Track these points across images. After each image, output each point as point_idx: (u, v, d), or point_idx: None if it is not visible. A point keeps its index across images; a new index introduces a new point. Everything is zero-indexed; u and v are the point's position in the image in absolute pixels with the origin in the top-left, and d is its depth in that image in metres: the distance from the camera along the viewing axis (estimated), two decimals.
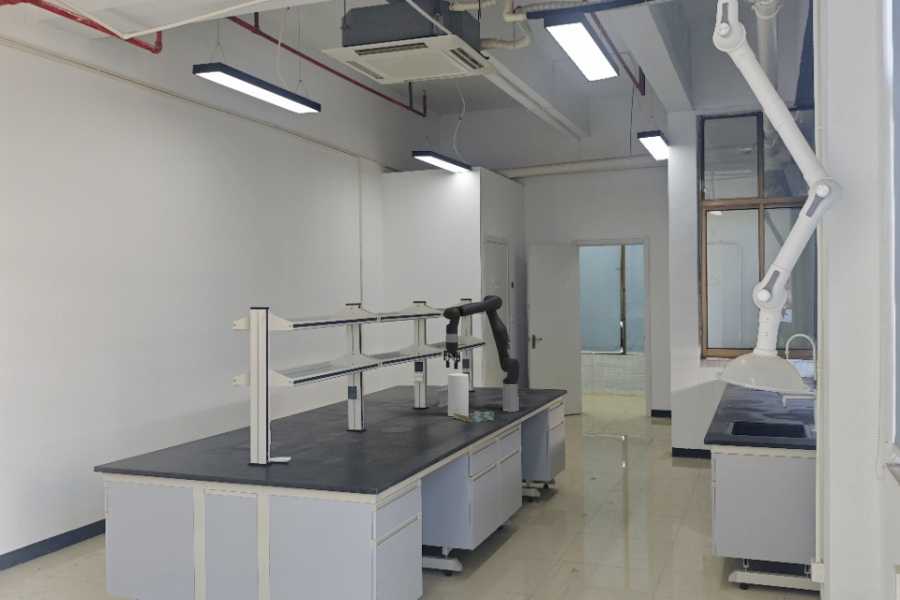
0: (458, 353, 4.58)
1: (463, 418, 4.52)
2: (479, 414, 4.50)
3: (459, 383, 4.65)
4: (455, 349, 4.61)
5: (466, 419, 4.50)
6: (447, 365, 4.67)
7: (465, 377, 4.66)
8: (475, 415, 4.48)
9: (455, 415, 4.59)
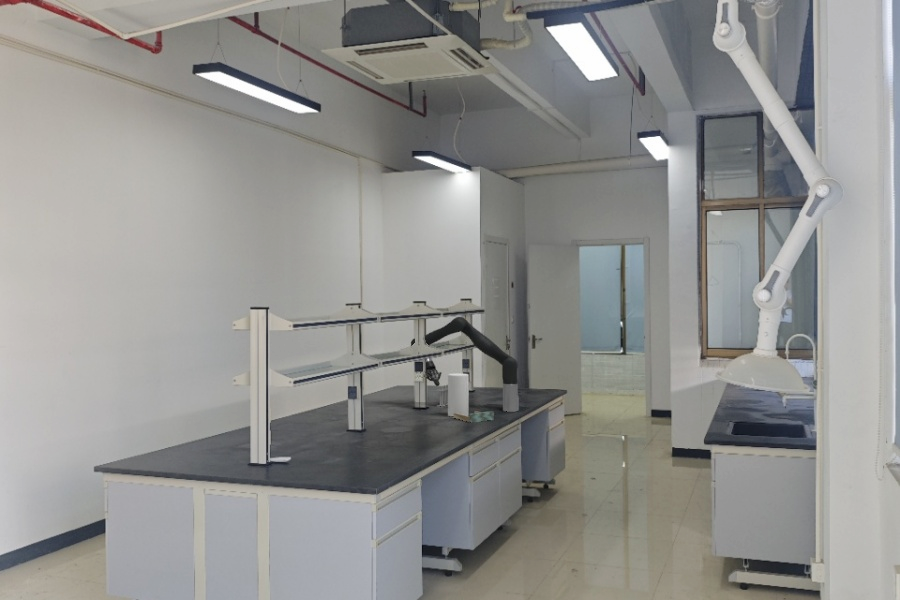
0: None
1: (463, 418, 4.52)
2: (479, 414, 4.50)
3: (459, 383, 4.65)
4: None
5: (466, 419, 4.50)
6: None
7: (465, 377, 4.66)
8: (475, 415, 4.48)
9: (455, 415, 4.59)
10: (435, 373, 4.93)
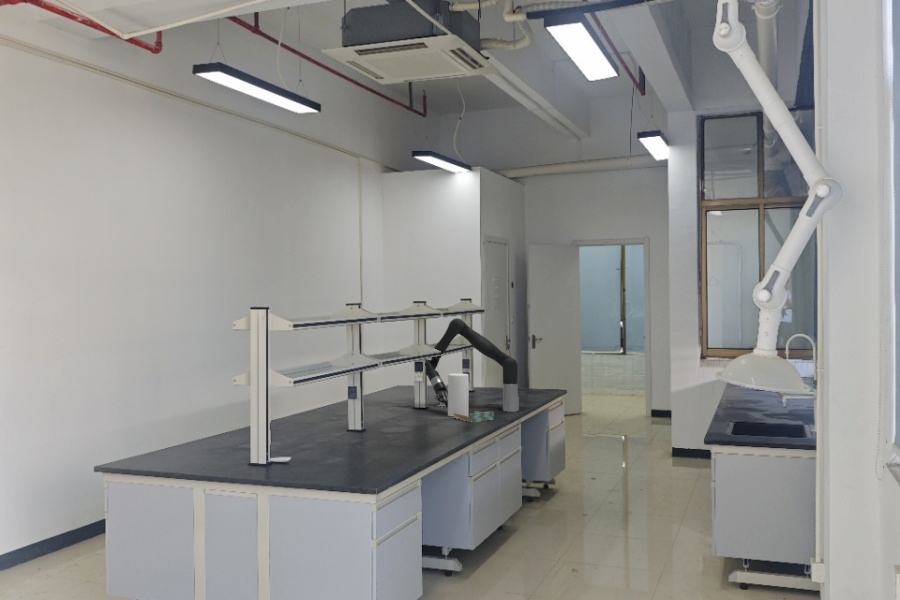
0: (436, 397, 4.80)
1: (463, 418, 4.52)
2: (479, 414, 4.50)
3: (459, 383, 4.65)
4: (436, 391, 4.84)
5: (466, 419, 4.50)
6: None
7: (465, 377, 4.66)
8: (475, 415, 4.48)
9: (455, 415, 4.59)
10: (446, 395, 4.83)
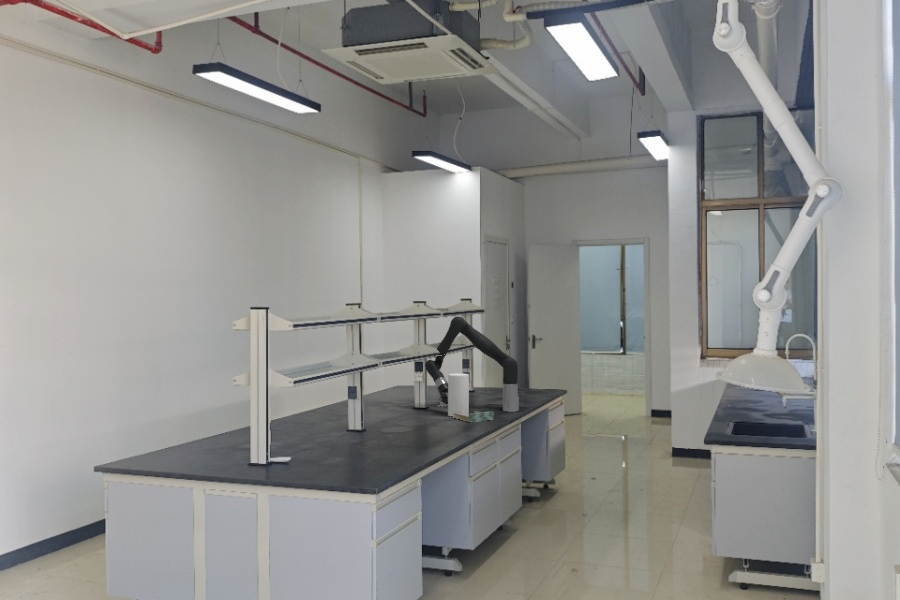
0: (440, 398, 4.76)
1: (463, 418, 4.52)
2: (479, 414, 4.50)
3: (459, 383, 4.64)
4: (440, 392, 4.80)
5: (466, 419, 4.50)
6: None
7: (465, 377, 4.66)
8: (475, 415, 4.48)
9: (455, 415, 4.59)
10: None
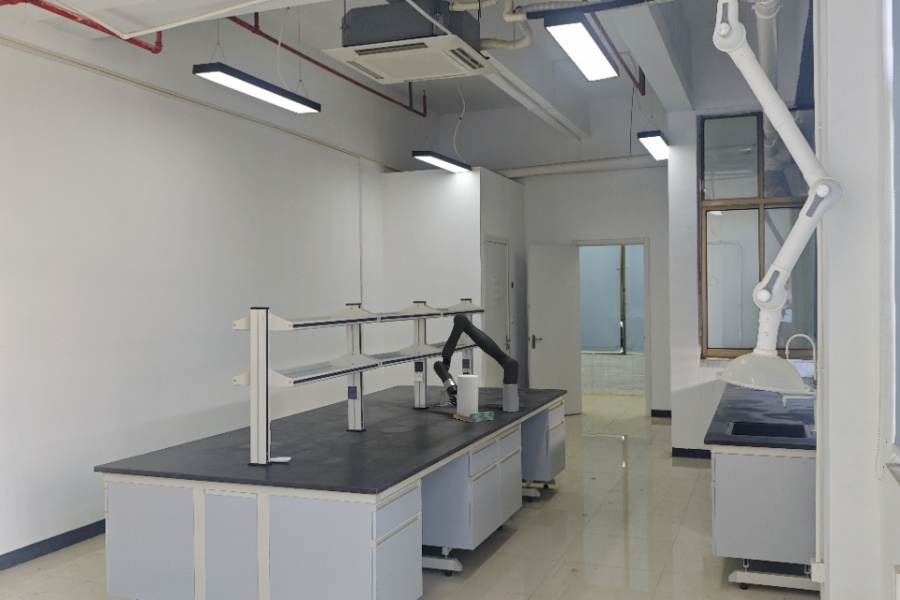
0: (449, 400, 4.68)
1: (463, 418, 4.52)
2: (479, 414, 4.50)
3: (470, 384, 4.57)
4: (449, 394, 4.72)
5: (466, 419, 4.50)
6: None
7: (476, 378, 4.59)
8: (475, 415, 4.48)
9: (455, 415, 4.59)
10: None
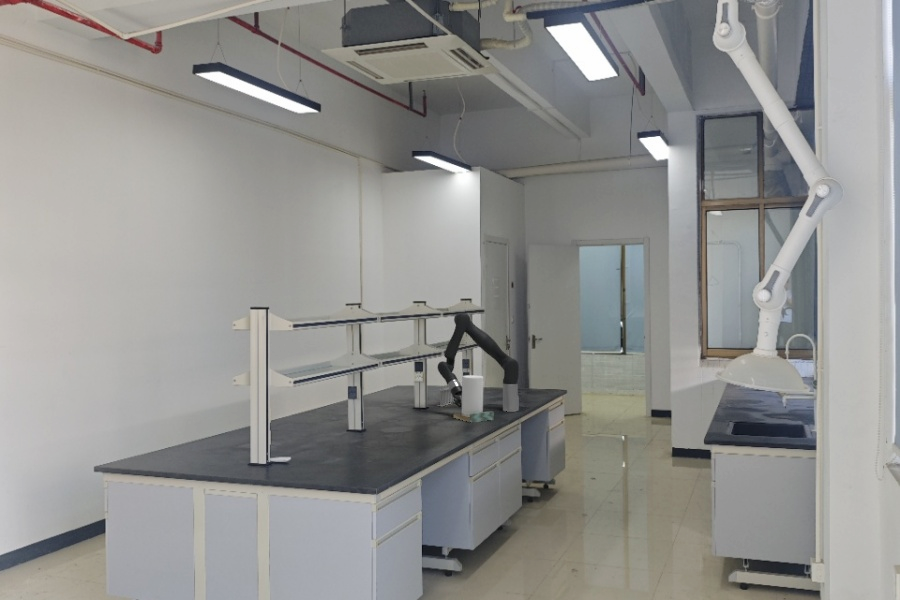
0: (454, 401, 4.64)
1: (463, 418, 4.52)
2: (479, 414, 4.50)
3: (475, 385, 4.53)
4: (453, 395, 4.68)
5: (466, 419, 4.50)
6: None
7: (481, 379, 4.55)
8: (475, 415, 4.48)
9: (455, 415, 4.59)
10: None
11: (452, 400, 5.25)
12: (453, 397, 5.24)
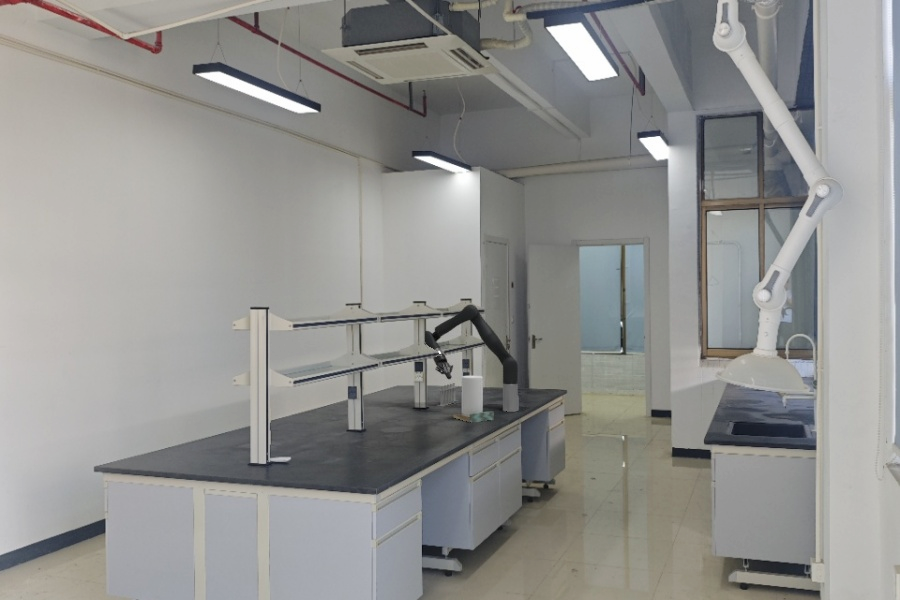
0: (437, 368, 4.79)
1: (463, 418, 4.52)
2: (479, 414, 4.50)
3: (474, 385, 4.53)
4: (436, 362, 4.83)
5: (466, 419, 4.50)
6: None
7: (480, 379, 4.55)
8: (475, 415, 4.48)
9: (455, 415, 4.59)
10: (447, 366, 4.82)
11: (452, 400, 5.25)
12: (453, 397, 5.25)
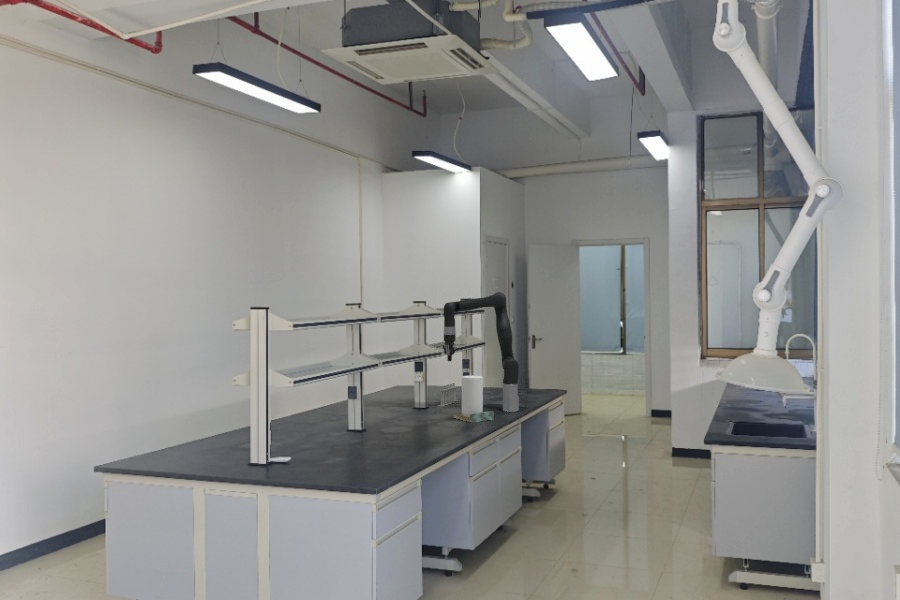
0: (454, 348, 4.88)
1: (463, 418, 4.52)
2: (479, 414, 4.50)
3: (474, 385, 4.53)
4: (453, 341, 4.89)
5: (466, 419, 4.50)
6: None
7: (480, 379, 4.55)
8: (475, 415, 4.48)
9: (455, 415, 4.59)
10: None
11: (453, 400, 5.25)
12: (453, 397, 5.25)
